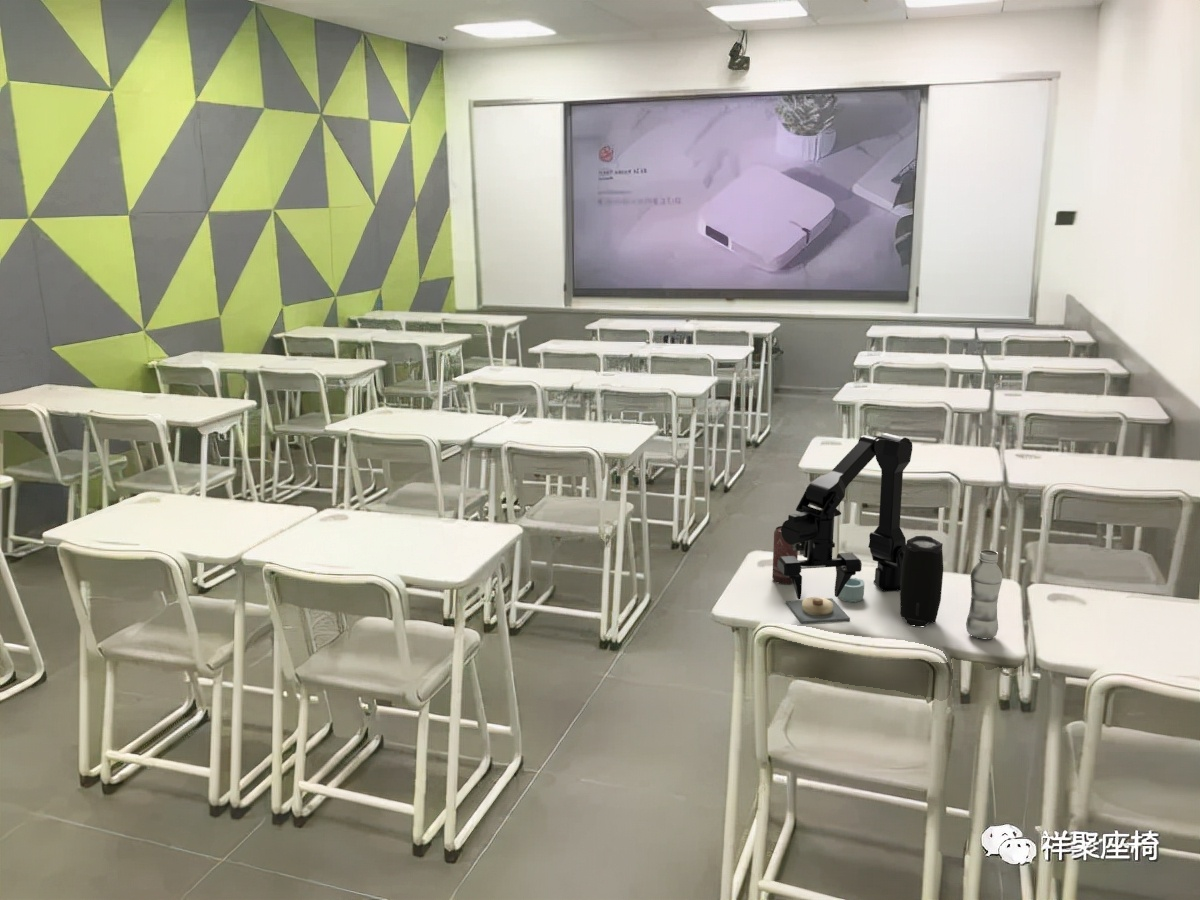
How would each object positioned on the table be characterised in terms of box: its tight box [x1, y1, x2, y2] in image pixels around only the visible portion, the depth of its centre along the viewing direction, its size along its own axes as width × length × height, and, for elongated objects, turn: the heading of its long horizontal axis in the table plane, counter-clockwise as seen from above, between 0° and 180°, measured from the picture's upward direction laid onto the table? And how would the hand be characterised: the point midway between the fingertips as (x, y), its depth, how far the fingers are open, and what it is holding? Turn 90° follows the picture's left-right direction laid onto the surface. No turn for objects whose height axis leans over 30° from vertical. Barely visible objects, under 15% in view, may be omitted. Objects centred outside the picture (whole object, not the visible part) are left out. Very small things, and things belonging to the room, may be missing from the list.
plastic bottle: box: [965, 549, 1004, 640], centre depth 209 cm, size 6×7×20 cm
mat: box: [785, 597, 851, 625], centre depth 225 cm, size 12×12×1 cm
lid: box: [802, 596, 833, 616], centre depth 224 cm, size 7×7×2 cm
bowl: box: [837, 577, 865, 603], centre depth 232 cm, size 6×6×4 cm
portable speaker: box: [899, 535, 944, 627], centre depth 217 cm, size 9×9×20 cm
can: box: [771, 525, 799, 585], centre depth 242 cm, size 6×6×14 cm
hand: (817, 597), depth 224 cm, fingers open, 9 cm apart
